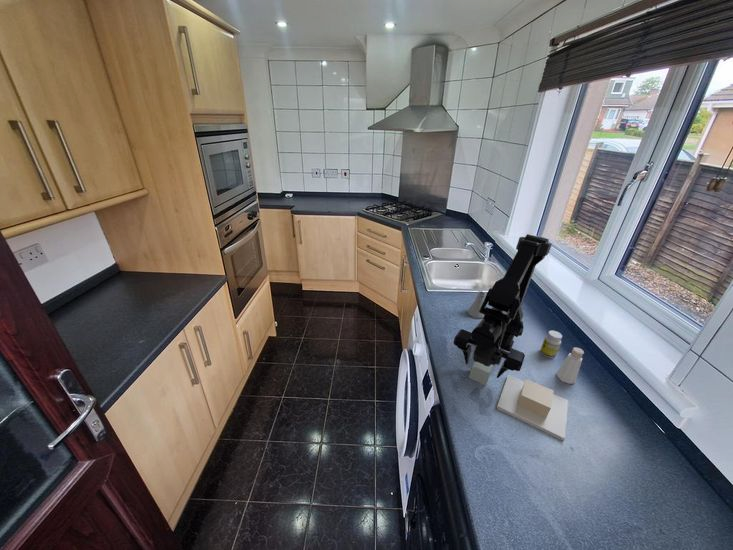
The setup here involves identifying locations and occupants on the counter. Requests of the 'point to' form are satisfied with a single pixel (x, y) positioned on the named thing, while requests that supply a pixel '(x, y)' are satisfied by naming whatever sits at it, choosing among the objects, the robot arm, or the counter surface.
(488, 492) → the counter surface
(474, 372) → the sage cube
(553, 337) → the supplement bottle
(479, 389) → the counter surface
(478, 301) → the flask
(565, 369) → the pepper shaker
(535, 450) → the counter surface
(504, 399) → the build base
